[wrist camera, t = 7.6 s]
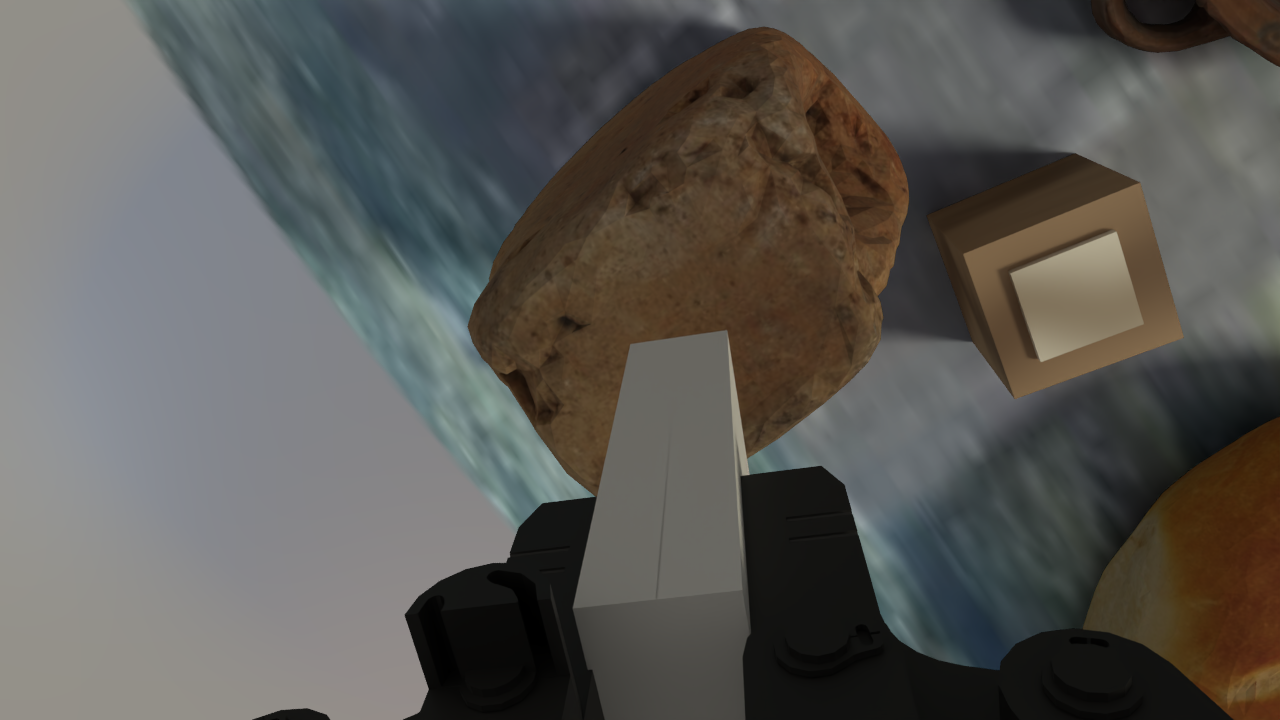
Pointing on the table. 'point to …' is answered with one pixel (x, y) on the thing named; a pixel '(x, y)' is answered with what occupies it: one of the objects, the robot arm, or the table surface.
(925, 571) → the table surface
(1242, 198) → the table surface
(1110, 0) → the dish
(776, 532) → the robot arm
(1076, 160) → the walnut cube
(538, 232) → the brown pitted rock
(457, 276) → the table surface
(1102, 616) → the bread
